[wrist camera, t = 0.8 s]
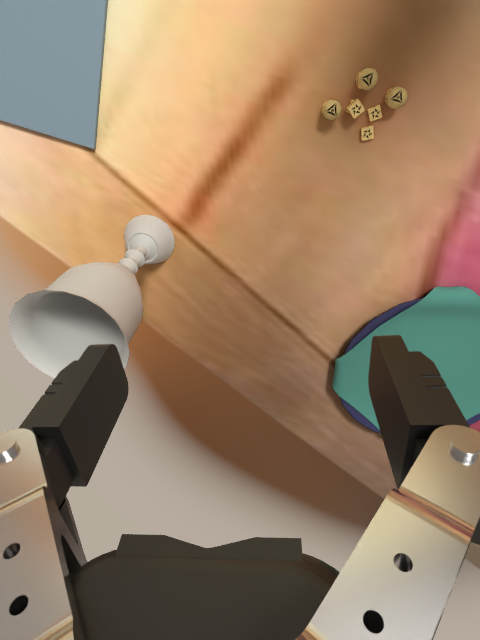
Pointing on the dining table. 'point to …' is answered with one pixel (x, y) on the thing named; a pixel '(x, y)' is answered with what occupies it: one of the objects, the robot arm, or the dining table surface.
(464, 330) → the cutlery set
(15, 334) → the chalice
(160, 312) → the dining table surface
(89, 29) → the rubber mat
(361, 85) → the dice set
